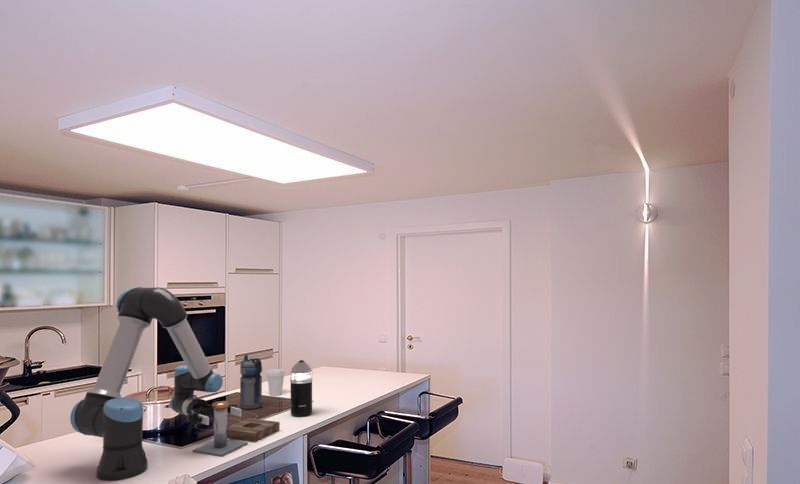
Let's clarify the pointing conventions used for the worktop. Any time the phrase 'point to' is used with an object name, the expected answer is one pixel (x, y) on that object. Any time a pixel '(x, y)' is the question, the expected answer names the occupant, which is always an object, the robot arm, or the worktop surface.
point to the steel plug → (220, 423)
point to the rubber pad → (230, 447)
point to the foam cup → (275, 381)
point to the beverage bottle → (250, 383)
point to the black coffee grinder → (301, 389)
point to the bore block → (252, 429)
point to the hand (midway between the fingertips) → (224, 416)
